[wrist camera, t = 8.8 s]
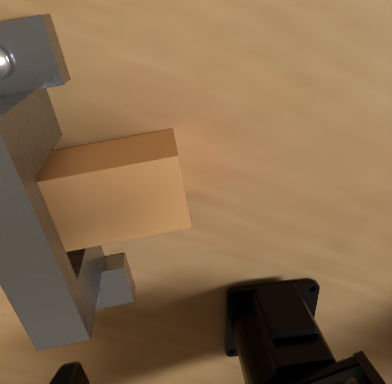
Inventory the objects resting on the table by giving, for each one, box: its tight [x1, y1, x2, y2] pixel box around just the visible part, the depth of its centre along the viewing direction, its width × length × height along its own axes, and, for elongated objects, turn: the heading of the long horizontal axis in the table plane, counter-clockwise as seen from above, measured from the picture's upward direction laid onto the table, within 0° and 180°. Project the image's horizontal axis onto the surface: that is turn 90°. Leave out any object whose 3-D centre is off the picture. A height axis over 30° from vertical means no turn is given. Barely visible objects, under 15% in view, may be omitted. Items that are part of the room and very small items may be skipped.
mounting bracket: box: [0, 14, 135, 351], centre depth 17 cm, size 5×16×6 cm, turn 9°
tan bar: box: [35, 129, 192, 252], centre depth 18 cm, size 17×4×4 cm, turn 99°
